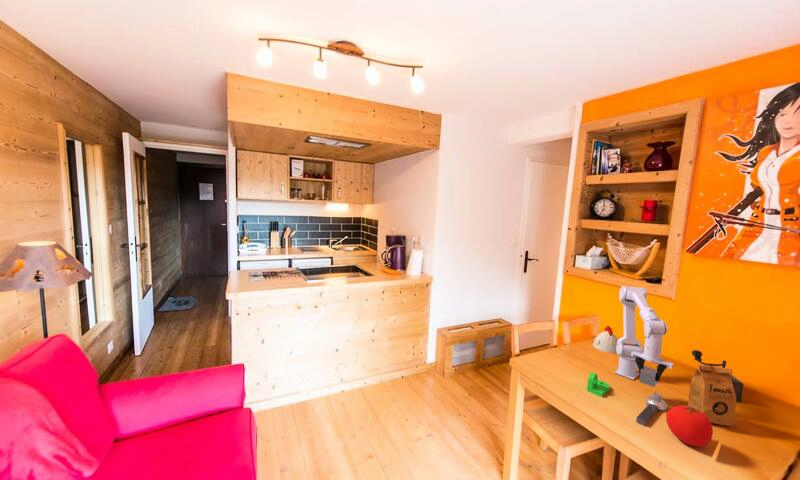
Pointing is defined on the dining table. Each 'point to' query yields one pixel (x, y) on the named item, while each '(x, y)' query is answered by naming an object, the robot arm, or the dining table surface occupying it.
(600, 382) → the mechanical part
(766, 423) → the dining table surface
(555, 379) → the dining table surface
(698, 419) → the tomato
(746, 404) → the dining table surface
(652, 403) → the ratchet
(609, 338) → the kitchen timer
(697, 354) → the manual coffee grinder
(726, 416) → the coffee package
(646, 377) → the grey square block
